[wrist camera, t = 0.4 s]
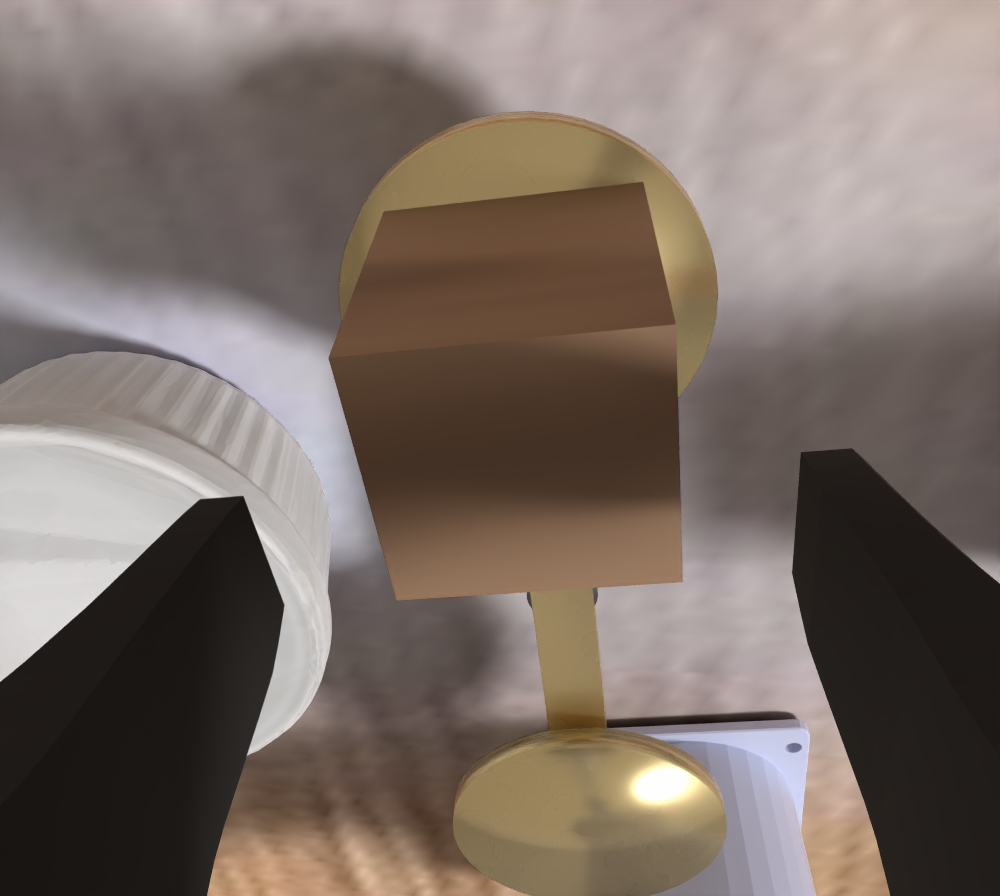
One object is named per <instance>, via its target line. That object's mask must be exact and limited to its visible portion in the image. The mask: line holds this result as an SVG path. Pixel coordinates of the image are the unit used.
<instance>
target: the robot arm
mask: <svg viewBox="0 0 1000 896" xmlns="http://www.w3.org/2000/svg"><path fill="white" fill-rule="evenodd" d="M792 574H793V579H794V584H795V588H796V593H797V598H798V602H799V607H800V612H801V616H802V621H803V625H804V629H805V633H806V638H807V642H808V646H809V649H810V651H811V654H812V657H813V660H814V663H815V666H816V669H817V671H818V674H819V677H820V680H821V683H822V685H823V688H824V691H825V694H826V697H827V700H828V702H829V705H830V708H831V711H832V713H833V716H834V719H835V722H836V724H837V727H838V730H839V733H840V735H841V738H842V741H843V744H844V747H845V749H846V752H847V755H848V758H849V760H850V763H851V766H852V769H853V771H854V774H855V777H856V780H857V782H858V785H859V788H860V791H861V794H862V796H863V799H864V802H865V805H866V808H867V811H868V814H869V818H870V821H871V824H872V827H873V830H874V834H875V837H876V840H877V844H878V848H879V852H880V856H881V860H882V864H883V868H884V872H885V876H886V880H887V884H888V888H889V892H890V896H1000V584H999V583H998V582H997V581H996V580H995V579H993V578H992V577H991V576H990V575H989V574H987V573H986V572H985V571H984V570H983V569H981V568H980V567H979V566H978V565H977V564H975V563H974V562H973V561H972V560H971V559H970V558H969V557H968V556H966V555H965V554H964V553H963V552H962V551H961V550H960V549H958V548H957V547H956V546H955V545H954V544H953V543H952V542H951V541H949V540H948V539H947V538H946V537H945V536H944V535H943V534H941V533H940V532H939V531H938V530H937V529H936V528H935V527H934V526H933V525H932V524H931V523H929V522H928V521H927V520H926V519H925V518H924V517H923V516H922V515H921V514H920V513H919V512H918V511H917V510H916V509H915V508H913V507H912V506H911V505H910V504H909V503H908V502H907V501H906V500H905V499H904V498H903V497H902V496H901V495H900V494H899V493H898V492H897V491H896V490H895V489H894V488H893V487H892V486H891V485H890V484H889V483H888V482H887V481H886V480H884V479H883V478H882V477H881V476H880V475H879V474H878V473H877V472H876V471H875V470H874V469H873V468H872V467H871V466H870V465H869V464H868V463H867V462H866V461H865V460H864V459H863V458H862V457H861V456H860V455H859V454H858V453H856V452H855V451H854V450H853V449H839V450H826V451H813V452H801V459H800V473H799V487H798V500H797V514H796V528H795V542H794V555H793V569H792ZM284 606H285V605H284V602H283V599H282V597H281V594H280V592H279V589H278V586H277V584H276V581H275V578H274V576H273V573H272V570H271V568H270V565H269V562H268V560H267V557H266V554H265V552H264V549H263V546H262V544H261V541H260V538H259V536H258V533H257V530H256V528H255V525H254V522H253V520H252V517H251V514H250V512H249V509H248V506H247V504H246V501H245V498H244V496H233V497H221V498H208V499H200V500H198V501H197V502H196V503H195V504H194V505H193V506H191V507H190V508H189V509H188V510H187V511H186V512H185V513H184V514H183V515H182V516H180V517H179V518H178V519H177V520H176V521H175V522H174V523H173V524H172V525H171V526H170V527H169V528H168V529H167V530H166V531H165V532H164V533H163V534H162V535H161V536H160V537H159V538H158V539H157V540H156V541H155V542H153V543H152V544H151V545H150V546H149V547H148V548H147V549H146V550H145V551H144V552H143V553H142V554H141V555H140V556H139V557H138V558H137V559H136V560H135V561H134V562H133V563H132V564H131V565H130V566H129V567H128V568H127V569H126V570H125V571H124V572H123V573H122V574H121V575H119V576H118V577H117V578H116V579H115V580H114V581H113V582H112V583H111V584H110V585H109V586H108V587H107V588H106V589H105V590H104V591H103V592H102V593H101V594H100V595H99V596H98V597H97V598H95V599H94V600H93V601H92V602H91V603H90V604H89V605H88V606H87V607H86V608H85V609H84V610H83V611H81V612H80V613H79V614H78V615H77V616H76V617H75V618H74V619H72V620H71V621H70V622H69V623H68V624H67V625H66V626H64V627H63V628H62V629H61V630H60V631H59V632H58V633H57V634H55V635H54V636H53V637H52V638H51V639H50V640H49V641H48V642H46V643H45V644H44V645H43V646H42V647H41V648H40V649H38V650H37V651H36V652H35V653H34V654H33V655H32V656H31V657H29V658H28V659H27V660H26V661H25V662H24V663H22V664H21V665H20V666H19V667H18V668H16V669H15V670H14V671H13V672H12V673H10V674H9V675H8V676H7V677H5V678H4V679H3V680H2V681H0V896H207V892H208V888H209V883H210V878H211V874H212V869H213V864H214V860H215V856H216V853H217V849H218V846H219V842H220V838H221V835H222V831H223V828H224V824H225V821H226V818H227V815H228V812H229V809H230V806H231V803H232V800H233V797H234V794H235V791H236V788H237V784H238V781H239V778H240V775H241V772H242V769H243V766H244V763H245V760H246V757H247V754H248V751H249V748H250V745H251V741H252V738H253V735H254V732H255V729H256V726H257V723H258V720H259V717H260V713H261V710H262V707H263V704H264V701H265V698H266V694H267V691H268V688H269V685H270V681H271V678H272V675H273V670H274V665H275V659H276V654H277V649H278V644H279V638H280V632H281V625H282V619H283V613H284ZM607 729H617V730H624V731H630V732H635V733H639V734H643V735H647V736H651V737H654V738H656V739H659V740H662V741H665V742H667V743H669V744H672V745H674V746H676V747H678V748H680V749H682V750H683V751H685V752H687V753H688V754H690V755H691V756H693V757H694V758H696V759H697V760H698V761H699V762H700V763H702V764H703V765H704V766H705V767H706V768H707V769H708V770H709V772H710V773H711V774H712V775H713V776H714V778H715V780H716V782H717V783H718V785H719V787H720V790H721V793H722V796H723V802H724V808H725V814H726V822H727V832H726V839H725V841H724V844H723V847H722V849H721V850H720V852H719V853H718V855H717V857H716V858H715V859H714V860H713V861H712V862H711V863H710V865H709V866H707V867H706V868H705V869H704V870H703V871H701V872H700V873H699V874H698V875H696V876H694V877H693V878H691V879H690V880H688V881H686V882H684V883H682V884H680V885H678V886H676V887H674V888H671V889H669V890H666V891H664V892H661V893H658V894H654V895H651V896H816V893H815V888H814V884H813V880H812V876H811V872H810V867H809V863H808V859H807V855H806V851H805V846H804V842H803V838H802V834H801V822H802V812H803V802H804V792H805V782H806V772H807V762H808V752H809V742H810V734H809V730H808V727H807V724H806V723H805V722H803V721H800V720H795V719H788V720H767V721H747V722H726V723H705V724H685V725H664V726H643V727H622V728H607Z"/></svg>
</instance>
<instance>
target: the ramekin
mask: <svg viewBox="0 0 1000 896" xmlns="http://www.w3.org/2000/svg"><path fill="white" fill-rule="evenodd" d="M233 496H244V498H245V501H246V504H247V506H248V509H249V512H250V514H251V517H252V520H253V522H254V525H255V528H256V530H257V533H258V536H259V538H260V541H261V544H262V546H263V549H264V552H265V554H266V557H267V560H268V562H269V565H270V568H271V570H272V573H273V576H274V578H275V581H276V584H277V586H278V589H279V592H280V594H281V597H282V599H283V602H284V605H285V606H284V613H283V619H282V625H281V632H280V638H279V644H278V649H277V654H276V659H275V665H274V670H273V675H272V678H271V681H270V685H269V688H268V691H267V694H266V698H265V701H264V704H263V707H262V710H261V713H260V717H259V720H258V723H257V726H256V729H255V732H254V735H253V738H252V741H251V745H250V748H249V751H248V754H247V756H248V755H249V754H251V753H254V752H256V751H258V750H260V749H261V748H263V747H264V746H266V745H267V744H269V743H270V742H272V741H273V740H274V739H276V738H277V737H279V736H280V735H281V734H282V733H284V732H285V731H287V730H288V729H289V728H290V727H291V726H292V725H293V724H294V723H295V722H296V721H297V720H298V719H299V718H300V717H301V716H302V714H303V713H304V711H305V710H306V709H307V707H308V706H309V704H310V703H311V701H312V699H313V698H314V696H315V694H316V691H317V689H318V687H319V685H320V682H321V680H322V677H323V674H324V670H325V667H326V663H327V659H328V655H329V651H330V645H331V636H332V618H331V608H330V601H329V596H328V575H329V558H330V537H331V522H330V516H329V510H328V502H327V499H326V496H325V494H324V492H323V487H322V483H321V480H320V478H319V477H318V475H317V473H316V471H315V469H314V467H313V465H312V462H311V460H310V459H309V458H308V456H307V455H306V454H305V453H304V451H303V450H302V448H301V446H300V444H299V443H298V442H297V440H296V439H295V438H294V437H293V436H292V435H291V434H290V433H289V431H288V430H287V429H286V428H285V426H284V425H283V424H281V423H280V422H279V421H278V420H277V419H276V418H275V417H274V416H273V415H272V414H271V413H270V412H269V411H268V410H267V409H265V408H264V407H262V406H261V405H259V404H258V403H257V402H256V401H254V400H253V399H252V398H251V397H250V396H248V395H247V394H246V393H244V392H242V391H240V390H238V389H237V388H235V387H233V386H232V385H230V384H229V383H227V382H226V381H224V380H222V379H220V378H217V377H215V376H213V375H210V374H209V373H207V372H205V371H203V370H201V369H198V368H195V367H192V366H188V365H186V364H183V363H181V362H178V361H175V360H169V359H164V358H160V357H156V356H153V355H147V354H135V353H130V352H106V351H95V352H89V353H79V354H69V355H66V356H64V357H61V358H59V359H51V360H47V361H44V362H41V363H40V364H38V365H36V366H34V367H31V368H28V369H26V370H23V371H22V372H20V373H18V374H17V375H15V376H13V377H12V378H10V379H9V380H7V381H6V382H3V383H2V384H0V681H2V680H3V679H4V678H5V677H7V676H8V675H9V674H10V673H12V672H13V671H14V670H15V669H16V668H18V667H19V666H20V665H21V664H22V663H24V662H25V661H26V660H27V659H28V658H29V657H31V656H32V655H33V654H34V653H35V652H36V651H37V650H38V649H40V648H41V647H42V646H43V645H44V644H45V643H46V642H48V641H49V640H50V639H51V638H52V637H53V636H54V635H55V634H57V633H58V632H59V631H60V630H61V629H62V628H63V627H64V626H66V625H67V624H68V623H69V622H70V621H71V620H72V619H74V618H75V617H76V616H77V615H78V614H79V613H80V612H81V611H83V610H84V609H85V608H86V607H87V606H88V605H89V604H90V603H91V602H92V601H93V600H94V599H95V598H97V597H98V596H99V595H100V594H101V593H102V592H103V591H104V590H105V589H106V588H107V587H108V586H109V585H110V584H111V583H112V582H113V581H114V580H115V579H116V578H117V577H118V576H119V575H121V574H122V573H123V572H124V571H125V570H126V569H127V568H128V567H129V566H130V565H131V564H132V563H133V562H134V561H135V560H136V559H137V558H138V557H139V556H140V555H141V554H142V553H143V552H144V551H145V550H146V549H147V548H148V547H149V546H150V545H151V544H152V543H153V542H155V541H156V540H157V539H158V538H159V537H160V536H161V535H162V534H163V533H164V532H165V531H166V530H167V529H168V528H169V527H170V526H171V525H172V524H173V523H174V522H175V521H176V520H177V519H178V518H179V517H180V516H182V515H183V514H184V513H185V512H186V511H187V510H188V509H189V508H190V507H191V506H193V505H194V504H195V503H196V502H197V501H198V500H200V499H208V498H221V497H233Z"/></svg>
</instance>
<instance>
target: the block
mask: <svg viewBox="0 0 1000 896" xmlns="http://www.w3.org/2000/svg"><path fill="white" fill-rule="evenodd" d="M329 361H330V365H331V368H332V372H333V375H334V379H335V382H336V386H337V390H338V393H339V397H340V400H341V404H342V407H343V411H344V415H345V418H346V422H347V425H348V429H349V432H350V436H351V440H352V443H353V447H354V450H355V454H356V457H357V461H358V465H359V468H360V472H361V475H362V479H363V482H364V486H365V490H366V493H367V497H368V500H369V504H370V507H371V511H372V514H373V518H374V522H375V525H376V529H377V532H378V536H379V539H380V543H381V547H382V550H383V554H384V557H385V561H386V564H387V568H388V572H389V575H390V579H391V582H392V586H393V589H394V593H395V597H396V600H397V601H398V600H414V599H429V598H444V597H460V596H475V595H490V594H506V593H521V592H536V591H552V590H567V589H583V588H598V587H613V586H629V585H644V584H659V583H675V582H683V578H682V538H681V499H680V459H679V419H678V380H677V340H676V322H675V317H674V313H673V309H672V304H671V300H670V296H669V291H668V287H667V283H666V278H665V274H664V269H663V265H662V261H661V256H660V252H659V248H658V243H657V239H656V235H655V230H654V226H653V222H652V217H651V213H650V209H649V204H648V200H647V195H646V191H645V187H644V182H637V183H628V184H620V185H611V186H602V187H593V188H585V189H576V190H567V191H558V192H549V193H541V194H532V195H523V196H514V197H506V198H497V199H488V200H479V201H471V202H462V203H453V204H444V205H436V206H427V207H418V208H409V209H401V210H392V211H384V212H383V214H382V217H381V220H380V222H379V225H378V228H377V230H376V233H375V236H374V238H373V241H372V244H371V246H370V249H369V252H368V254H367V257H366V260H365V262H364V265H363V268H362V270H361V273H360V276H359V278H358V281H357V284H356V286H355V289H354V292H353V294H352V297H351V300H350V302H349V305H348V308H347V310H346V313H345V316H344V318H343V321H342V324H341V326H340V329H339V332H338V334H337V337H336V340H335V342H334V345H333V348H332V350H331V353H330V355H329Z"/></svg>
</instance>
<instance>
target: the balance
mask: <svg viewBox="0 0 1000 896" xmlns="http://www.w3.org/2000/svg"><path fill="white" fill-rule="evenodd" d="M637 182H644V187H645V191H646V195H647V200H648V204H649V209H650V213H651V217H652V222H653V226H654V230H655V235H656V239H657V243H658V248H659V252H660V256H661V261H662V265H663V269H664V274H665V278H666V283H667V287H668V291H669V296H670V300H671V304H672V309H673V313H674V317H675V322H676V340H677V380H678V397H679V396H680V395H681V394H682V392H683V391H684V389H685V388H686V387H687V385H688V384H689V383H690V381H691V380H692V379H693V377H694V375H695V373H696V371H697V370H698V368H699V366H700V364H701V362H702V361H703V359H704V356H705V353H706V351H707V348H708V346H709V343H710V340H711V337H712V333H713V329H714V324H715V320H716V313H717V300H718V287H717V273H716V267H715V263H714V258H713V254H712V249H711V246H710V243H709V240H708V237H707V234H706V232H705V229H704V227H703V224H702V221H701V219H700V216H699V214H698V212H697V210H696V208H695V206H694V205H693V203H692V201H691V199H690V198H689V196H688V194H687V192H686V191H685V190H684V188H683V187H682V186H681V185H680V183H679V182H678V181H677V179H676V178H675V177H674V176H673V174H672V173H671V172H670V171H669V170H668V169H667V168H666V167H665V166H664V165H663V164H662V163H661V162H660V161H659V160H658V159H656V158H655V157H654V156H653V155H652V154H651V153H649V152H648V151H646V150H645V149H644V148H642V147H641V146H640V145H638V144H637V143H635V142H634V141H633V140H631V139H629V138H627V137H625V136H623V135H621V134H619V133H617V132H616V131H614V130H612V129H610V128H608V127H605V126H602V125H599V124H596V123H594V122H591V121H588V120H585V119H582V118H577V117H573V116H568V115H563V114H559V113H548V112H535V111H524V112H507V113H499V114H494V115H489V116H484V117H478V118H475V119H472V120H469V121H466V122H463V123H460V124H457V125H454V126H451V127H449V128H447V129H445V130H443V131H441V132H439V133H437V134H435V135H433V136H431V137H429V138H428V139H426V140H425V141H423V142H422V143H420V144H419V145H417V146H416V147H414V148H413V149H412V150H410V151H409V152H407V153H406V154H405V155H404V156H403V157H402V158H401V159H400V160H398V161H397V162H396V163H395V164H394V165H393V166H392V167H391V168H390V169H389V170H388V171H387V172H386V173H385V175H384V176H383V177H382V178H381V179H380V181H379V182H378V183H377V184H376V186H375V187H374V188H373V190H372V191H371V193H370V195H369V196H368V198H367V200H366V201H365V203H364V205H363V206H362V208H361V210H360V213H359V215H358V217H357V220H356V222H355V224H354V227H353V229H352V231H351V234H350V236H349V239H348V241H347V244H346V248H345V252H344V256H343V259H342V263H341V271H340V280H339V304H340V314H341V319H342V321H343V318H344V316H345V313H346V310H347V308H348V305H349V302H350V300H351V297H352V294H353V292H354V289H355V286H356V284H357V281H358V278H359V276H360V273H361V270H362V268H363V265H364V262H365V260H366V257H367V254H368V252H369V249H370V246H371V244H372V241H373V238H374V236H375V233H376V230H377V228H378V225H379V222H380V220H381V217H382V214H383V212H384V211H392V210H401V209H409V208H418V207H427V206H436V205H444V204H453V203H462V202H471V201H479V200H488V199H497V198H506V197H514V196H523V195H532V194H541V193H549V192H558V191H567V190H576V189H585V188H593V187H602V186H611V185H620V184H628V183H637ZM597 598H598V592H597V588H583V589H567V590H552V591H536V592H527V600H528V603H529V605H530V606H531V608H532V609H533V616H534V624H535V631H536V638H537V645H538V653H539V660H540V667H541V675H542V682H543V689H544V696H545V704H546V711H547V718H548V726H549V731H546V732H540V733H536V734H533V735H529V736H525V737H522V738H519V739H516V740H514V741H511V742H509V743H506V744H504V745H502V746H500V747H498V748H496V749H494V750H492V751H491V752H489V753H488V754H486V755H485V756H483V757H482V758H481V759H479V760H478V761H477V762H476V763H475V764H474V765H473V766H472V767H471V768H470V769H469V770H468V771H467V773H466V774H465V775H464V776H463V778H462V780H461V782H460V784H459V786H458V788H457V792H456V795H455V804H454V815H453V832H454V838H455V840H456V843H457V845H458V847H459V849H460V850H461V852H462V854H463V855H464V857H465V858H466V859H467V860H468V861H469V862H470V863H471V864H472V865H473V866H474V867H475V868H477V869H478V870H479V871H480V872H481V873H483V874H484V875H486V876H488V877H489V878H491V879H492V880H494V881H496V882H498V883H500V884H502V885H504V886H506V887H509V888H511V889H514V890H516V891H519V892H522V893H525V894H529V895H532V896H651V895H654V894H658V893H661V892H664V891H666V890H669V889H671V888H674V887H676V886H678V885H680V884H682V883H684V882H686V881H688V880H690V879H691V878H693V877H694V876H696V875H698V874H699V873H700V872H701V871H703V870H704V869H705V868H706V867H707V866H709V865H710V863H711V862H712V861H713V860H714V859H715V858H716V857H717V855H718V853H719V852H720V850H721V849H722V847H723V844H724V841H725V839H726V832H727V822H726V814H725V808H724V802H723V796H722V793H721V790H720V787H719V785H718V783H717V782H716V780H715V778H714V776H713V775H712V774H711V773H710V772H709V770H708V769H707V768H706V767H705V766H704V765H703V764H702V763H700V762H699V761H698V760H697V759H696V758H694V757H693V756H691V755H690V754H688V753H687V752H685V751H683V750H682V749H680V748H678V747H676V746H674V745H672V744H669V743H667V742H665V741H662V740H659V739H656V738H654V737H651V736H647V735H643V734H639V733H635V732H630V731H624V730H617V729H607V723H606V713H605V703H604V693H603V682H602V672H601V662H600V652H599V641H598V631H597V621H596V611H595V604H596V602H597Z"/></svg>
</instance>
